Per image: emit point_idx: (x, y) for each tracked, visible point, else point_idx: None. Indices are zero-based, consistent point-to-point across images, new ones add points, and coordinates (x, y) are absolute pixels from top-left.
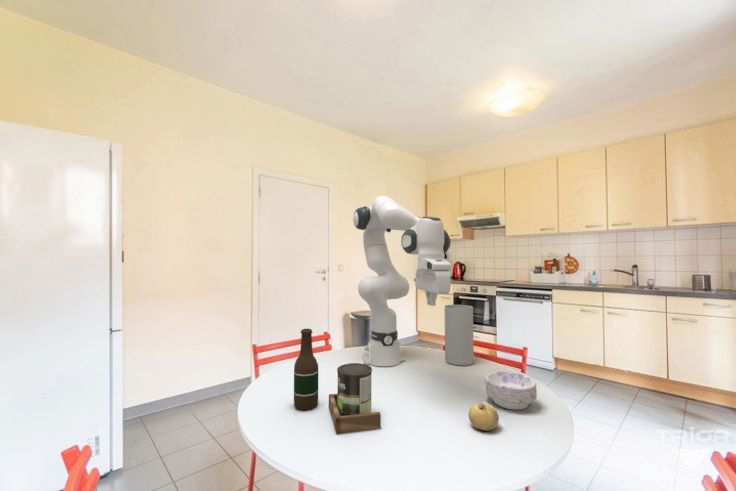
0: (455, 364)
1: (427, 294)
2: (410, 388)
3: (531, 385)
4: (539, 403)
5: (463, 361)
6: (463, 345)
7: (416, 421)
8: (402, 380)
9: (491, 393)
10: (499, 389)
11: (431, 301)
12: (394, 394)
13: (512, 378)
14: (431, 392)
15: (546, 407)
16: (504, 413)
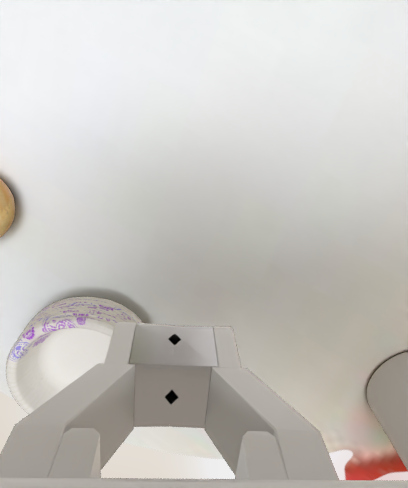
0: (388, 360)
1: (268, 446)
2: (283, 126)
3: (20, 401)
4: None
5: (376, 385)
6: (405, 430)
7: (43, 20)
8: (360, 132)
9: (75, 302)
10: (41, 320)
11: (108, 364)
12: (258, 42)
13: None
14: (227, 179)
15: None
16: (46, 290)
